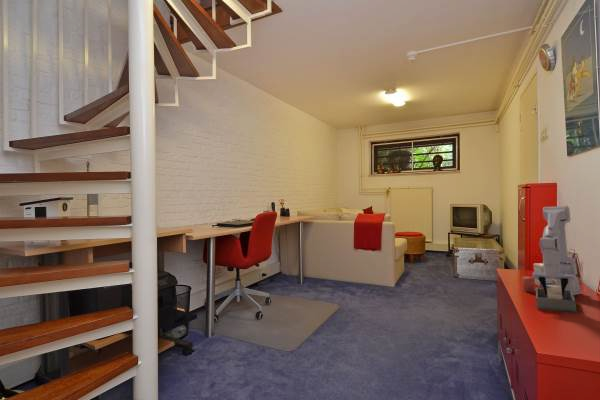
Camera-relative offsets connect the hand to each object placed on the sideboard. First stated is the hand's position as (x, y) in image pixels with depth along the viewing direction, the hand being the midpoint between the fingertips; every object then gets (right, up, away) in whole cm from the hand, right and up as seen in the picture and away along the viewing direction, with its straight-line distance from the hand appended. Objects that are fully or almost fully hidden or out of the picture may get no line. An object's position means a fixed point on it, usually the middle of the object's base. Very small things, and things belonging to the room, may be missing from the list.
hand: (554, 294), depth 139 cm
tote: (+3, -6, +3) cm, 7 cm away
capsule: (+8, -6, +26) cm, 27 cm away
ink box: (+20, -5, +32) cm, 38 cm away
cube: (0, -2, 0) cm, 2 cm away
